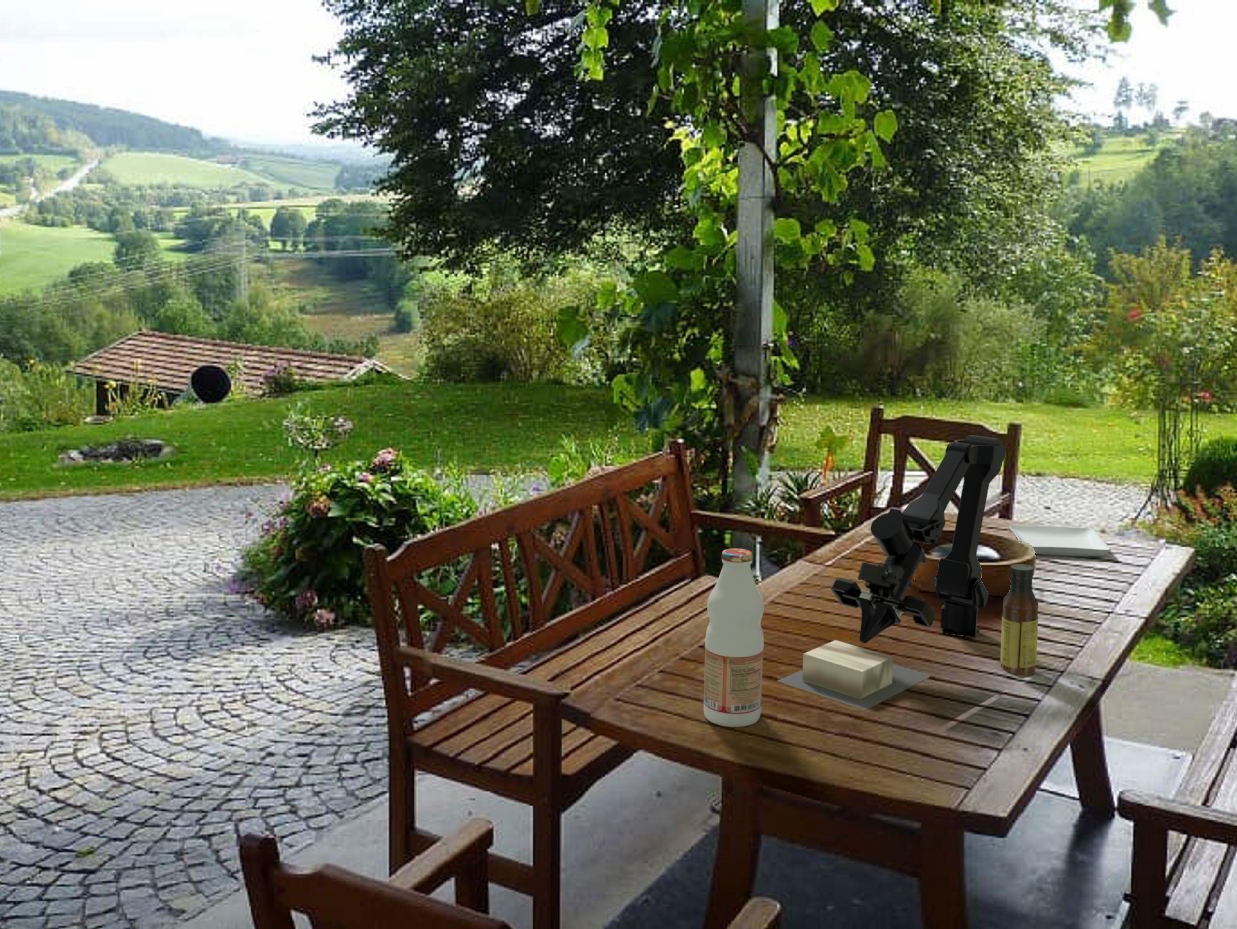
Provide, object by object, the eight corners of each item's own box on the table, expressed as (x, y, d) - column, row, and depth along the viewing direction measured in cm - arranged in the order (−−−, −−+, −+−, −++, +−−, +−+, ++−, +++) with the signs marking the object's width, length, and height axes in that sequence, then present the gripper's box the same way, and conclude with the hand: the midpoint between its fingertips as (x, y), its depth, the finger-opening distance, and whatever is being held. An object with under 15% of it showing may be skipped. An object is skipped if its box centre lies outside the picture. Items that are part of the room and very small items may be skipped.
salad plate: (1021, 557, 290) (1022, 544, 290) (1007, 536, 311) (1008, 523, 310) (1111, 562, 287) (1112, 548, 286) (1091, 540, 307) (1092, 527, 307)
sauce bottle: (1035, 667, 215) (1044, 563, 211) (1035, 679, 210) (1044, 573, 206) (998, 663, 217) (1006, 560, 213) (997, 675, 212) (1005, 569, 208)
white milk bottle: (693, 720, 190) (698, 554, 185) (717, 701, 198) (721, 541, 193) (747, 733, 186) (753, 563, 180) (769, 712, 194) (775, 549, 189)
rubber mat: (846, 653, 222) (846, 650, 222) (931, 678, 209) (932, 675, 209) (776, 684, 206) (776, 680, 206) (864, 713, 194) (864, 710, 194)
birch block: (835, 640, 212) (803, 653, 205) (893, 656, 204) (862, 671, 197) (834, 666, 213) (802, 680, 206) (891, 683, 205) (860, 699, 198)
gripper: (838, 535, 214) (801, 606, 209) (930, 555, 202) (893, 631, 196) (860, 568, 221) (824, 637, 216) (950, 589, 209) (914, 664, 203)
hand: (862, 641), depth 208 cm, fingers closed
